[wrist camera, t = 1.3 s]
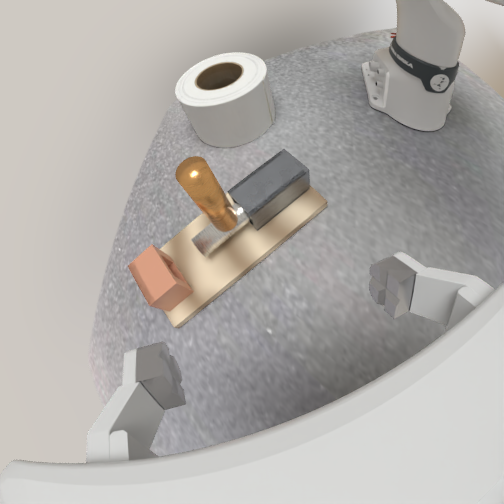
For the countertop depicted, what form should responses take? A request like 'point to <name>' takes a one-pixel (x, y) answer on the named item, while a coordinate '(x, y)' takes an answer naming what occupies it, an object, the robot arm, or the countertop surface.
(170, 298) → the socket
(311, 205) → the board
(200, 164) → the tube
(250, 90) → the toilet paper roll
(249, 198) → the sleeve
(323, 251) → the countertop surface
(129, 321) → the countertop surface
